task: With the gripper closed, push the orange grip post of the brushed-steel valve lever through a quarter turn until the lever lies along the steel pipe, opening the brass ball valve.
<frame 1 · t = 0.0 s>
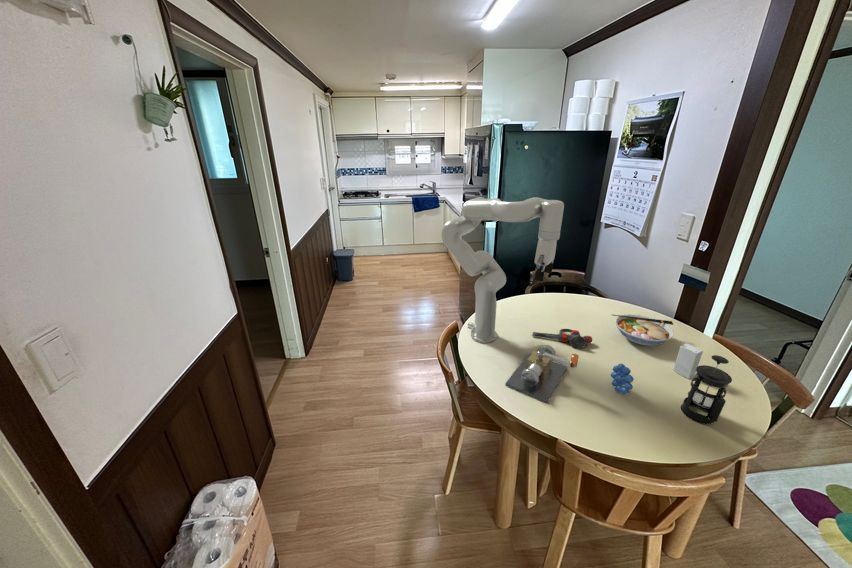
hand: (543, 276, 131), 37 cm above the table, tool pointing down, fingers open, 9 cm apart
skincare box: (682, 373, 132), on the table
ramen bowl: (639, 340, 154), on the table
french press: (698, 415, 113), on the table
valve: (560, 338, 157), on the table
grapes: (620, 392, 123), on the table
lever: (556, 355, 123), point 13 cm above the table, hinge at 0.0°
valve body: (537, 376, 132), on the table
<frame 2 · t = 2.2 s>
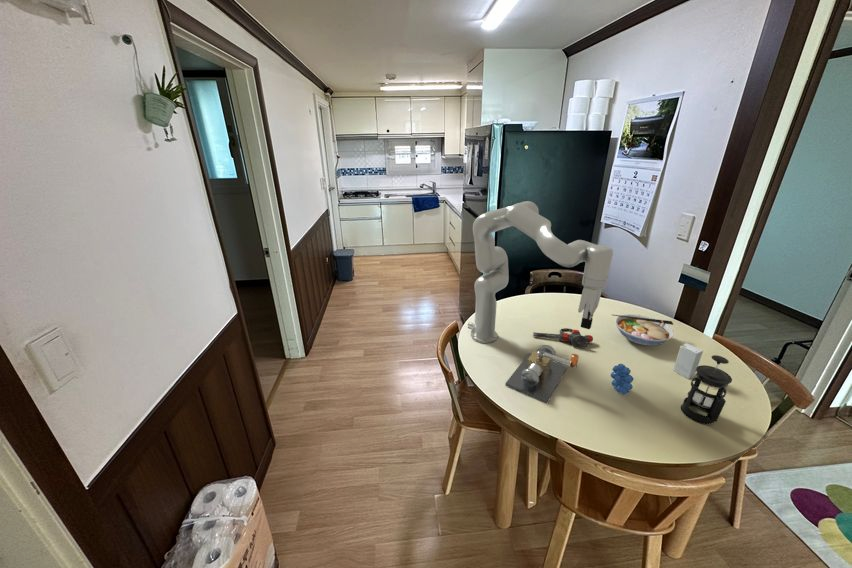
hand: (585, 327, 121), 23 cm above the table, tool pointing down, fingers closed
nothing on the table moved.
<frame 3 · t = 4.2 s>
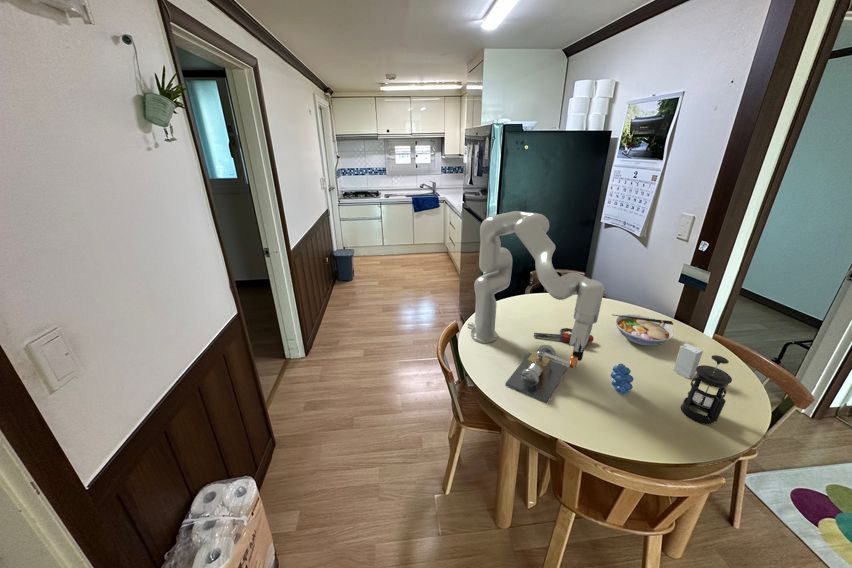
hand: (576, 358, 121), 13 cm above the table, tool pointing down, fingers closed
lever: (556, 355, 123), point 13 cm above the table, hinge at -3.2°, touching gripper
everything else where it was.
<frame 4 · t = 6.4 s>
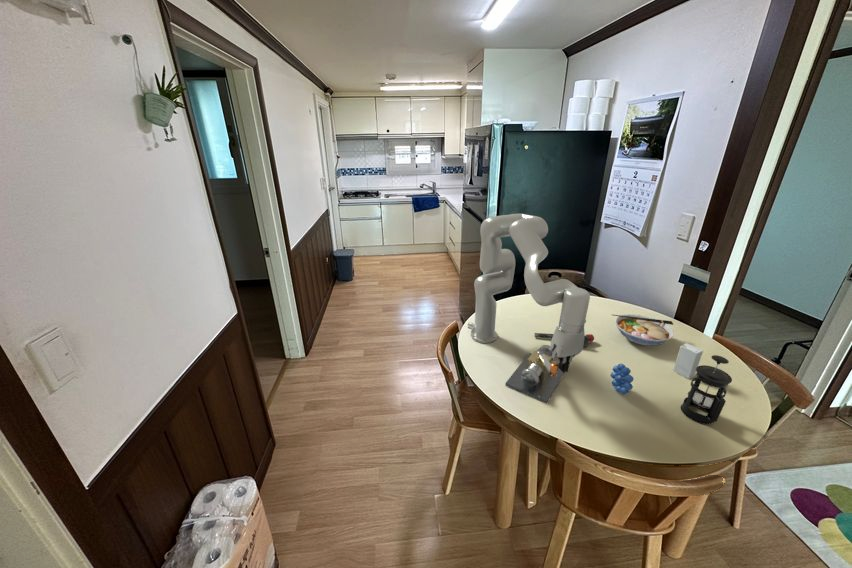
hand: (562, 369, 116), 13 cm above the table, tool pointing down, fingers closed
lever: (546, 359, 121), point 13 cm above the table, hinge at -50.0°, touching gripper
everything else where it was.
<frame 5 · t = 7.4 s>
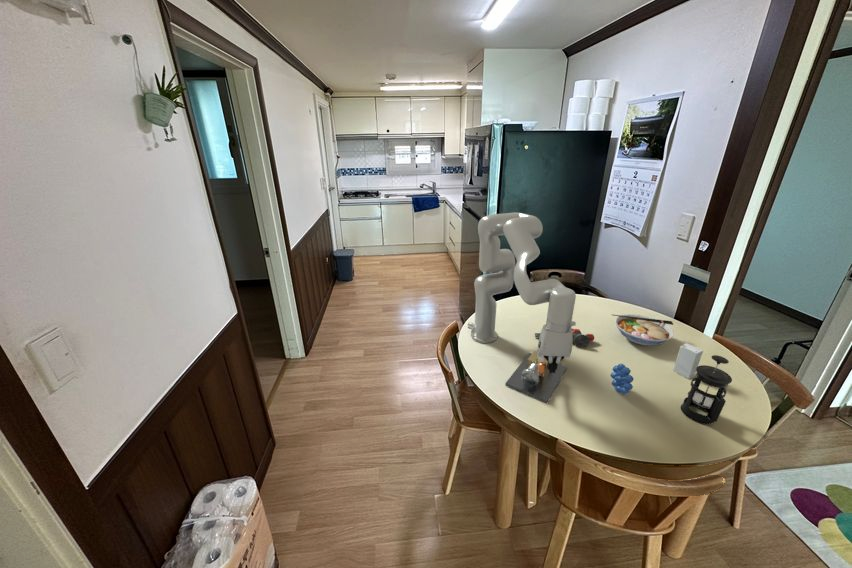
hand: (551, 370, 115), 13 cm above the table, tool pointing down, fingers closed
lever: (541, 359, 121), point 13 cm above the table, hinge at -69.6°, touching gripper
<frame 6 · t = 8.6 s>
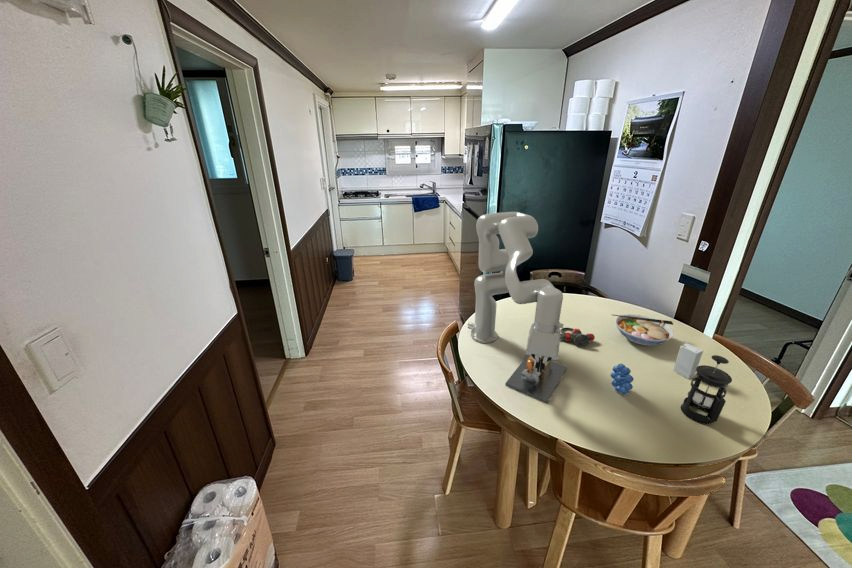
hand: (539, 370, 116), 13 cm above the table, tool pointing down, fingers closed
lever: (535, 357, 122), point 13 cm above the table, hinge at -88.2°, touching gripper
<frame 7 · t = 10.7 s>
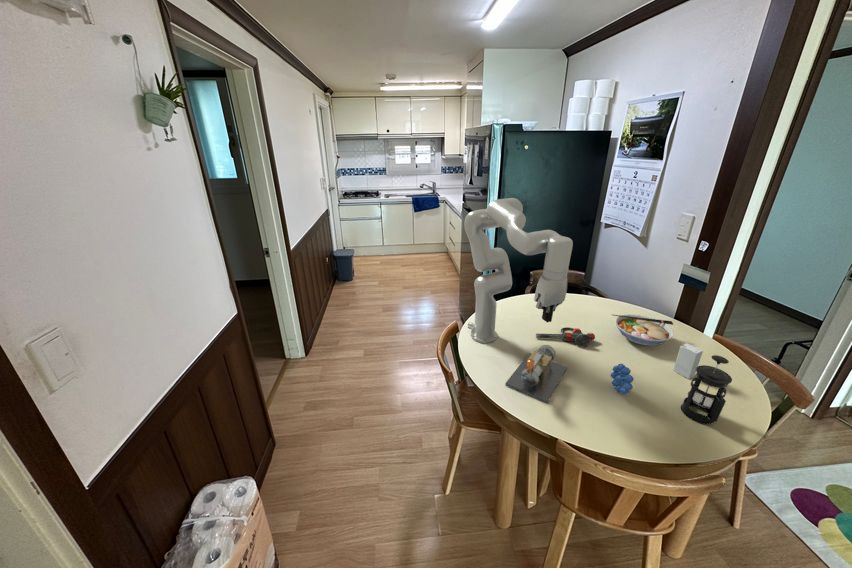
hand: (546, 320, 119), 27 cm above the table, tool pointing down, fingers closed
lever: (535, 357, 122), point 13 cm above the table, hinge at -88.4°
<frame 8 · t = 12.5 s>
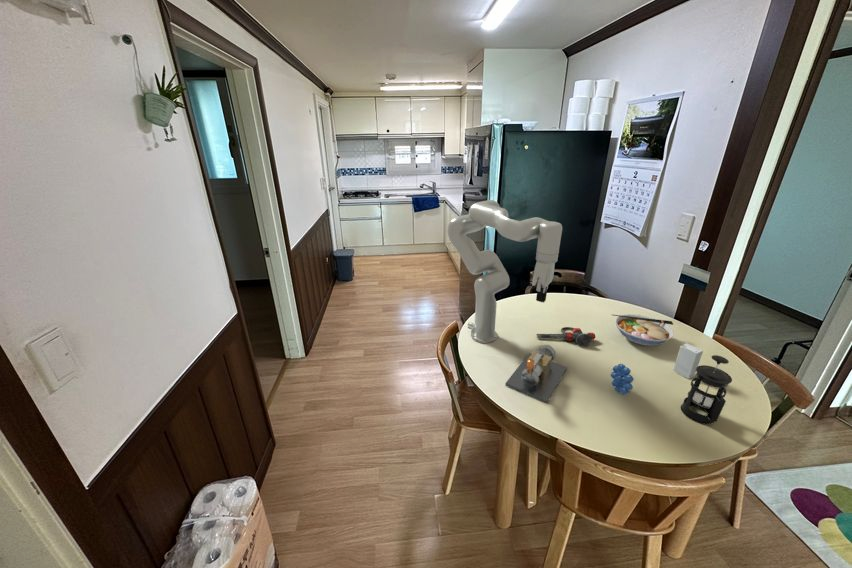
hand: (540, 300, 128), 29 cm above the table, tool pointing down, fingers closed
at the end: lever at -88° (first picture: +0°); the gripper is holding nothing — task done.
